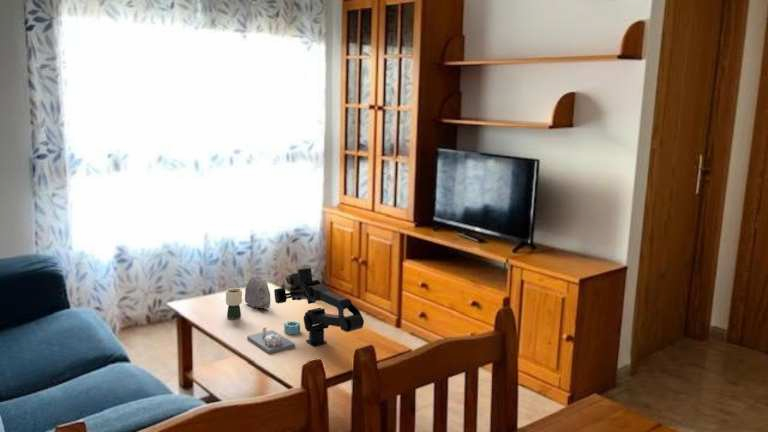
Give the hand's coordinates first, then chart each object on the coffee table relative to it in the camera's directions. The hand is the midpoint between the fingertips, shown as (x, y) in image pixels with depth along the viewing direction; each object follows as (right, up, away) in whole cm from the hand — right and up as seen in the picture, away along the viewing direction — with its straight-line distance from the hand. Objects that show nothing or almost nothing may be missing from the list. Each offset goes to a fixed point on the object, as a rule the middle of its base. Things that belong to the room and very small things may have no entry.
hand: (284, 293), depth 287 cm
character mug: (-24, -12, +9) cm, 29 cm away
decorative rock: (-17, -9, +24) cm, 31 cm away
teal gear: (+4, -16, -5) cm, 17 cm away
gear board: (-3, -18, -18) cm, 26 cm away
